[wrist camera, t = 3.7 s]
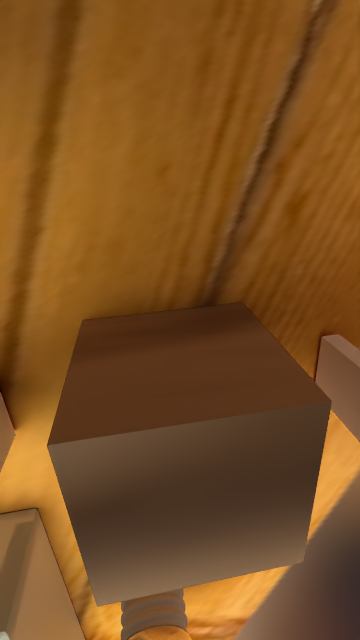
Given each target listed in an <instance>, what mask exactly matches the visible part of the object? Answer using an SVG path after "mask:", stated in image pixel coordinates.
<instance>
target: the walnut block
mask: <svg viewBox="0 0 360 640" xmlns="http://www.w3.org/2000/svg"><path fill="white" fill-rule="evenodd" d="M331 404H332V400H331V399H330V398H329V397H328V396H327V395H326V394H325V393H324V392H323V390H322V389H321V388H320V387H319V386H318V385H317V384H316V383H315V382H314V381H313V379H312V378H311V377H310V376H309V375H308V374H307V373H306V372H305V371H304V369H303V368H302V367H301V366H300V365H299V364H298V363H297V362H296V361H295V360H294V358H293V357H292V356H291V355H290V354H289V353H288V352H287V351H286V350H285V349H284V347H283V346H282V345H281V344H280V343H279V342H278V341H277V340H276V339H275V337H274V336H273V335H272V334H271V333H270V332H269V331H268V330H267V329H266V328H265V326H264V325H263V324H262V323H261V322H260V321H259V320H258V319H257V318H256V316H255V315H254V314H253V313H252V312H251V311H250V310H249V309H248V308H247V307H246V305H245V304H244V303H243V302H240V303H231V304H222V305H213V306H205V307H196V308H187V309H178V310H170V311H161V312H152V313H143V314H135V315H126V316H117V317H108V318H100V319H91V320H82V323H81V326H80V330H79V333H78V337H77V341H76V344H75V348H74V351H73V355H72V358H71V362H70V365H69V369H68V373H67V376H66V380H65V383H64V387H63V390H62V394H61V397H60V401H59V405H58V408H57V412H56V415H55V419H54V422H53V426H52V430H51V433H50V437H49V440H48V444H47V447H48V450H49V453H50V457H51V460H52V463H53V466H54V469H55V473H56V476H57V479H58V482H59V485H60V489H61V492H62V495H63V498H64V501H65V505H66V508H67V511H68V514H69V517H70V521H71V524H72V527H73V530H74V533H75V537H76V540H77V543H78V546H79V550H80V553H81V556H82V559H83V562H84V566H85V569H86V572H87V575H88V578H89V582H90V585H91V588H92V591H93V594H94V598H95V601H96V604H97V607H98V606H103V605H107V604H112V603H116V602H121V601H126V600H130V599H135V598H139V597H144V596H149V595H153V594H158V593H163V592H167V591H172V590H176V589H181V588H186V587H190V586H195V585H200V584H204V583H209V582H213V581H218V580H223V579H227V578H232V577H236V576H241V575H246V574H250V573H255V572H260V571H264V570H269V569H273V568H278V567H283V566H287V565H292V564H297V563H301V562H303V558H304V552H305V547H306V542H307V536H308V531H309V525H310V520H311V514H312V509H313V503H314V498H315V492H316V487H317V481H318V476H319V470H320V465H321V459H322V453H323V448H324V442H325V437H326V431H327V426H328V420H329V415H330V409H331Z"/></svg>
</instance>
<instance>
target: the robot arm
mask: <svg viewBox="0 0 360 640" xmlns="http://www.w3.org/2000/svg"><path fill="white" fill-rule="evenodd" d="M315 383H316V384H317V385H318V386H319V387H320V388H321V389H322V390H323V392H324V393H325V394H326V395H327V396H328V397H329V398H330V399H331V400H332V404H331V410H332V411H333V412H334V413H335V414H336V415H337V416H338V418H339V419H340V420H341V421H342V422H343V423H344V424H345V426H346V427H347V428H348V429H349V430H350V431H351V432H352V434H353V435H354V436H355V437H356V438H357V439H358V440H359V442H360V350H359V349H358V348H357V347H355V346H354V345H353V344H351V343H350V342H349V341H347V340H346V339H345V338H343V337H342V336H341V335H339V334H337V335H329V336H322V339H321V346H320V353H319V360H318V366H317V373H316V380H315ZM15 435H16V434H15V431H14V429H13V426H12V423H11V420H10V417H9V415H8V412H7V409H6V406H5V403H4V401H3V398H2V395H1V392H0V472H1V469H2V467H3V464H4V462H5V459H6V457H7V455H8V452H9V450H10V447H11V445H12V442H13V440H14V437H15Z"/></svg>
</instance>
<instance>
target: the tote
mask: <svg viewBox="0 0 360 640" xmlns="http://www.w3.org/2000/svg"><path fill="white" fill-rule="evenodd" d="M0 640H85V637H84V635H83V632H82V629H81V626H80V624H79V621H78V618H77V616H76V613H75V610H74V607H73V605H72V602H71V599H70V597H69V594H68V591H67V588H66V586H65V583H64V580H63V578H62V575H61V572H60V569H59V567H58V564H57V561H56V559H55V556H54V553H53V550H52V548H51V545H50V542H49V540H48V537H47V534H46V531H45V529H44V526H43V523H42V521H41V518H40V515H39V512H38V510H37V508H34V509H29V510H23V511H17V512H12V513H6V514H1V515H0Z"/></svg>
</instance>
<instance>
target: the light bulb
mask: <svg viewBox="0 0 360 640" xmlns="http://www.w3.org/2000/svg"><path fill="white" fill-rule="evenodd" d="M121 609H122V612H123V614H122V616H121V624H122V626H123V629H122V631H121V640H192V639H191V638H190V636H189V635H188V633H187V631H186V626H187V617H186V614H185V613H184V612H185V602H184V600H183V589H182V588H181V589H176V590H172V591H167V592H163V593H158V594H153V595H149V596H144V597H139V598H135V599H130V600H126V601H122V603H121Z"/></svg>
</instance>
